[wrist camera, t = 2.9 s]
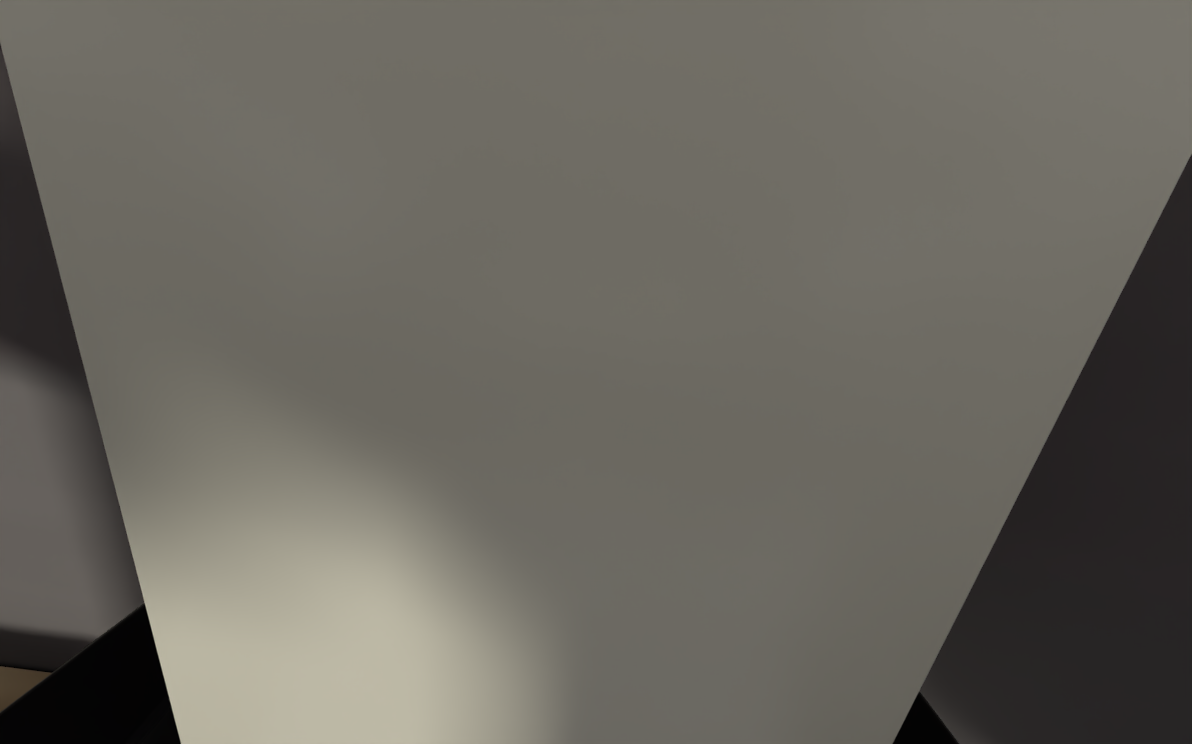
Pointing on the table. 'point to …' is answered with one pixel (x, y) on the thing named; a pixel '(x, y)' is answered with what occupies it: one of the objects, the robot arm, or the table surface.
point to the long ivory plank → (582, 338)
